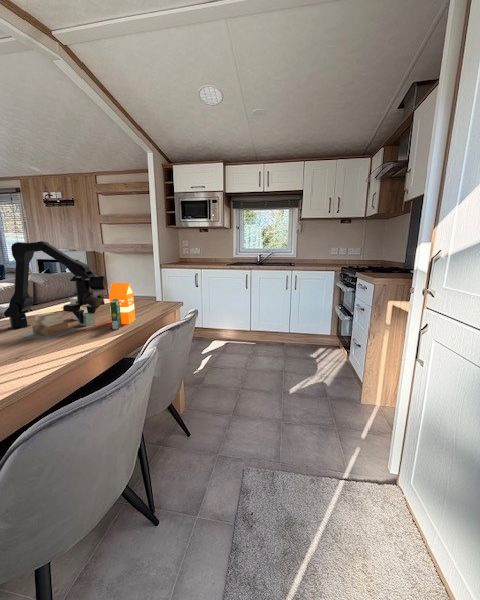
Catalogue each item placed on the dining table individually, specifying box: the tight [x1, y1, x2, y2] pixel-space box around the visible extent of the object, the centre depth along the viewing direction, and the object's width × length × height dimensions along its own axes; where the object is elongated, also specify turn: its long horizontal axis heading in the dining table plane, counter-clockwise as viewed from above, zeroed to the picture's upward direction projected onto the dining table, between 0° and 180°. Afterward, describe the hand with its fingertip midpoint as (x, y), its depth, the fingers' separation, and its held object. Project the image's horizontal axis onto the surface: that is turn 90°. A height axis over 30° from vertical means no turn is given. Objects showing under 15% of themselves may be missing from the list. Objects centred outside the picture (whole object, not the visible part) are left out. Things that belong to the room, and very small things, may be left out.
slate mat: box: [19, 327, 81, 341], centre depth 117 cm, size 16×16×1 cm
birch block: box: [34, 311, 65, 327], centre depth 116 cm, size 7×7×4 cm
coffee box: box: [109, 299, 123, 331], centre depth 125 cm, size 8×3×13 cm, turn 14°
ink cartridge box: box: [69, 296, 88, 321], centre depth 141 cm, size 9×5×15 cm, turn 168°
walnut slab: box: [31, 321, 69, 337], centre depth 117 cm, size 9×9×4 cm
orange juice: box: [108, 282, 136, 325], centre depth 134 cm, size 8×9×20 cm
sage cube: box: [77, 313, 96, 327], centre depth 130 cm, size 5×5×5 cm
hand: (86, 322), depth 130 cm, fingers closed on sage cube, 5 cm apart
